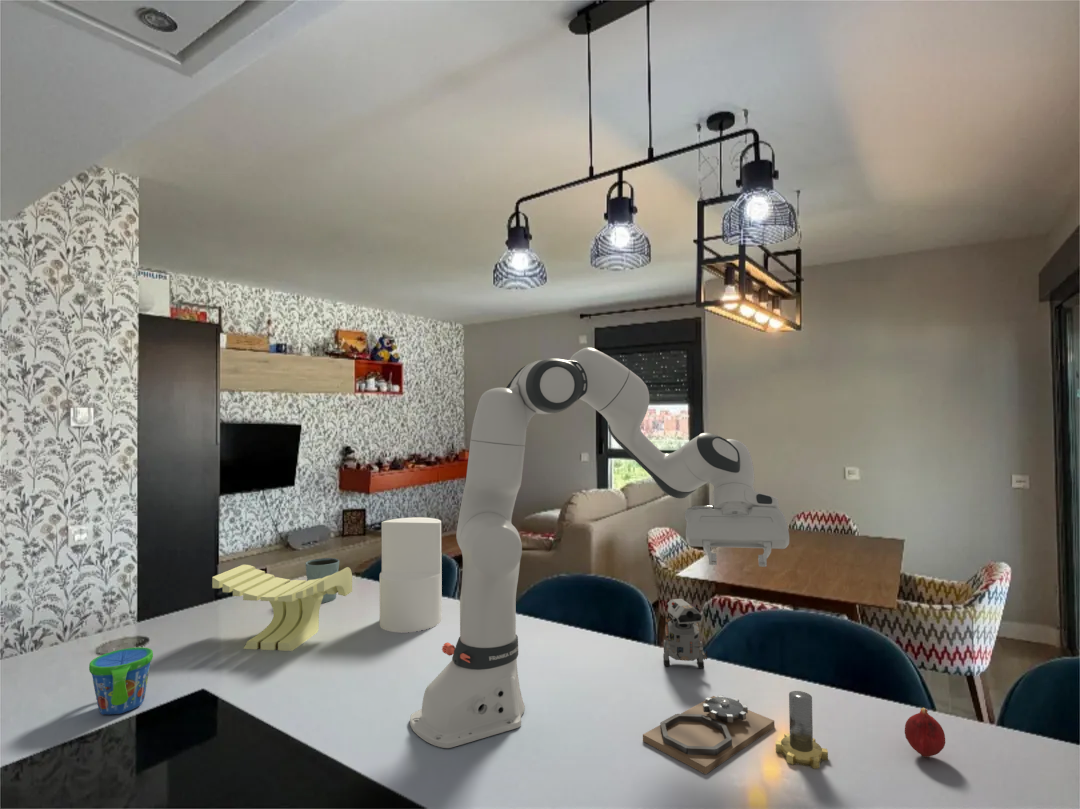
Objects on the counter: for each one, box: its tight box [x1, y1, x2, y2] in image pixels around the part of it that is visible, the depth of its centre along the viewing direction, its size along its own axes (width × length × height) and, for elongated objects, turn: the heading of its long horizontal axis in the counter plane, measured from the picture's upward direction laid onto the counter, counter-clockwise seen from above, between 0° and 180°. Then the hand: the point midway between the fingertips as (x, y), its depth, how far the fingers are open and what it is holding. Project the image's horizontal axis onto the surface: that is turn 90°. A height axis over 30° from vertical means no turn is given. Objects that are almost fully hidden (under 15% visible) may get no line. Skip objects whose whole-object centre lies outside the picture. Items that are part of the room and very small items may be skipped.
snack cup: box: [88, 646, 154, 715], centre depth 120 cm, size 16×10×10 cm
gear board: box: [642, 695, 775, 775], centre depth 108 cm, size 22×13×2 cm, turn 130°
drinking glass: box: [305, 557, 340, 604], centre depth 191 cm, size 10×10×12 cm
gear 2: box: [775, 690, 829, 770], centre depth 101 cm, size 8×8×10 cm
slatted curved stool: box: [211, 564, 353, 652], centre depth 157 cm, size 30×16×18 cm, turn 83°
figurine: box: [662, 597, 709, 669], centre depth 136 cm, size 9×12×15 cm
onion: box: [904, 707, 946, 758], centre depth 101 cm, size 6×6×8 cm
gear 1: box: [703, 694, 749, 722], centre depth 111 cm, size 8×8×3 cm
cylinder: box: [379, 516, 443, 634], centre depth 169 cm, size 17×17×28 cm
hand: (737, 564), depth 118 cm, fingers open, 8 cm apart
